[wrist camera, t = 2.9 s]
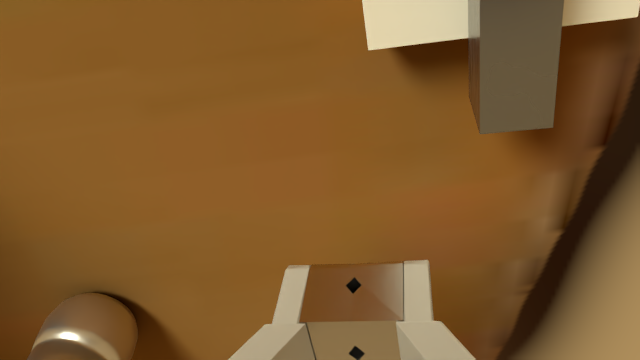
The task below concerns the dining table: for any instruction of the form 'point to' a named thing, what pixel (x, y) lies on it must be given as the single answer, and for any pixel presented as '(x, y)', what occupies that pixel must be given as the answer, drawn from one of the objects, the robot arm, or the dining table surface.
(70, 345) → the plastic bottle
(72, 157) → the dining table surface
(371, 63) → the dining table surface
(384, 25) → the housing
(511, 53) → the grey bar
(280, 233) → the dining table surface
